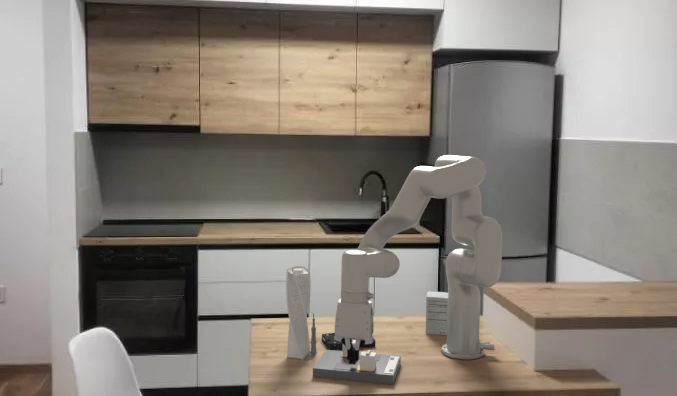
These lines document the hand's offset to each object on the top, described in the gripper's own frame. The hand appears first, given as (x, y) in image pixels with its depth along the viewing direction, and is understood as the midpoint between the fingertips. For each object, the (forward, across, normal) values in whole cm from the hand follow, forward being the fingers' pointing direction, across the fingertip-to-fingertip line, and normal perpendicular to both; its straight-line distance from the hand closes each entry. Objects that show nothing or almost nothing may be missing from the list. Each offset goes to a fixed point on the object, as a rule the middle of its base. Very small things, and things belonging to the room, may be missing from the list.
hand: (352, 362), depth 177 cm
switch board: (+4, 0, -5) cm, 6 cm away
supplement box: (+3, -19, -46) cm, 49 cm away
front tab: (+1, -4, 0) cm, 4 cm away
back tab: (+1, +3, -9) cm, 10 cm away
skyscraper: (+5, +19, -12) cm, 23 cm away
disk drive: (+4, +7, -26) cm, 28 cm away
